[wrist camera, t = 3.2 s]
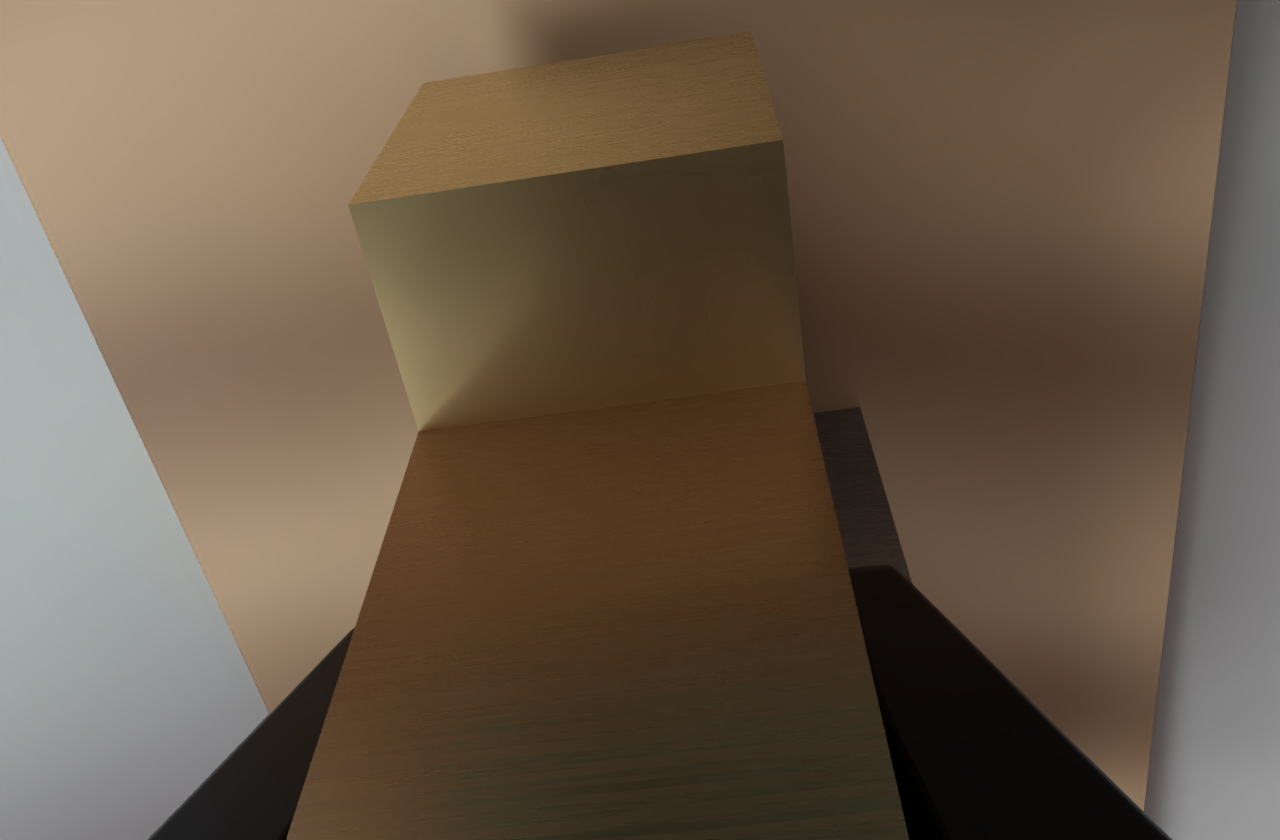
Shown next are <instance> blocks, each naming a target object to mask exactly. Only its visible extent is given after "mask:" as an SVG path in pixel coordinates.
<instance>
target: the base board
mask: <svg viewBox="0 0 1280 840" xmlns="http://www.w3.org/2000/svg"><path fill="white" fill-rule="evenodd" d="M1236 3H1237V0H0V137H1V139H2V141H3V143H4V145H5V147H6V150H7V152H8V154H9V156H10V158H11V160H12V162H13V165H14V167H15V169H16V171H17V173H18V175H19V177H20V180H21V182H22V184H23V186H24V188H25V190H26V192H27V195H28V197H29V199H30V201H31V203H32V205H33V207H34V210H35V212H36V214H37V216H38V218H39V220H40V223H41V225H42V227H43V229H44V231H45V233H46V235H47V238H48V240H49V242H50V244H51V246H52V248H53V250H54V253H55V255H56V257H57V259H58V261H59V263H60V265H61V268H62V270H63V272H64V274H65V276H66V278H67V280H68V283H69V285H70V287H71V289H72V291H73V293H74V295H75V298H76V300H77V302H78V304H79V306H80V308H81V310H82V313H83V315H84V317H85V319H86V321H87V323H88V325H89V328H90V330H91V332H92V334H93V336H94V338H95V340H96V343H97V345H98V347H99V349H100V351H101V353H102V355H103V358H104V360H105V362H106V364H107V366H108V368H109V371H110V373H111V375H112V377H113V379H114V381H115V383H116V386H117V388H118V390H119V392H120V394H121V396H122V398H123V401H124V403H125V405H126V407H127V409H128V411H129V413H130V416H131V418H132V420H133V422H134V424H135V426H136V428H137V431H138V433H139V435H140V437H141V439H142V441H143V443H144V446H145V448H146V450H147V452H148V454H149V456H150V458H151V461H152V463H153V465H154V467H155V469H156V471H157V473H158V476H159V478H160V480H161V482H162V484H163V486H164V488H165V491H166V493H167V495H168V497H169V499H170V501H171V504H172V506H173V508H174V510H175V512H176V514H177V516H178V519H179V521H180V523H181V525H182V527H183V529H184V531H185V534H186V536H187V538H188V540H189V542H190V544H191V546H192V549H193V551H194V553H195V555H196V557H197V559H198V561H199V564H200V566H201V568H202V570H203V572H204V574H205V576H206V579H207V581H208V583H209V585H210V587H211V589H212V591H213V594H214V596H215V598H216V600H217V602H218V604H219V606H220V609H221V611H222V613H223V615H224V617H225V619H226V621H227V624H228V626H229V628H230V630H231V632H232V634H233V637H234V639H235V641H236V643H237V645H238V647H239V649H240V652H241V654H242V656H243V658H244V660H245V662H246V664H247V667H248V669H249V671H250V673H251V675H252V677H253V679H254V682H255V684H256V686H257V688H258V690H259V692H260V694H261V697H262V699H263V701H264V703H265V705H266V707H267V709H268V712H269V714H270V713H271V712H272V711H273V710H274V709H275V708H276V707H277V706H278V705H279V704H280V703H281V701H282V700H283V699H284V698H285V697H286V696H287V695H288V694H289V693H290V692H291V691H292V690H293V689H294V688H295V687H296V686H297V685H298V684H299V683H300V682H301V681H302V680H303V679H304V678H305V677H306V676H307V675H308V674H309V673H310V672H311V671H312V670H313V668H314V667H315V666H316V665H317V664H318V663H319V662H320V661H321V660H322V659H323V658H324V657H325V656H326V655H327V654H328V653H329V652H330V651H331V650H332V649H333V648H334V647H335V646H336V645H337V644H338V643H339V642H340V641H341V640H342V639H343V638H344V637H345V635H346V634H347V633H348V632H350V631H351V630H352V629H353V628H354V627H355V626H356V623H357V620H358V616H359V613H360V610H361V607H362V604H363V601H364V598H365V595H366V592H367V589H368V586H369V583H370V580H371V576H372V573H373V570H374V567H375V564H376V561H377V558H378V555H379V552H380V549H381V546H382V543H383V539H384V536H385V533H386V530H387V527H388V524H389V521H390V518H391V515H392V512H393V509H394V506H395V502H396V499H397V496H398V493H399V490H400V487H401V484H402V481H403V478H404V475H405V472H406V469H407V466H408V462H409V459H410V456H411V453H412V450H413V447H414V444H415V441H416V438H417V435H418V432H419V431H418V428H417V425H416V422H415V419H414V415H413V412H412V409H411V406H410V403H409V399H408V396H407V393H406V390H405V386H404V383H403V380H402V377H401V374H400V370H399V367H398V364H397V361H396V357H395V354H394V351H393V348H392V345H391V341H390V338H389V335H388V332H387V329H386V325H385V322H384V319H383V316H382V312H381V309H380V306H379V303H378V300H377V296H376V293H375V290H374V287H373V283H372V280H371V277H370V274H369V271H368V267H367V264H366V261H365V258H364V255H363V251H362V248H361V245H360V242H359V238H358V235H357V232H356V229H355V226H354V222H353V219H352V216H351V213H350V209H349V206H348V204H349V203H350V201H351V200H352V198H353V196H354V195H355V193H356V191H357V190H358V188H359V187H360V185H361V183H362V182H363V180H364V178H365V177H366V175H367V174H368V172H369V170H370V169H371V167H372V165H373V164H374V162H375V160H376V159H377V157H378V156H379V154H380V152H381V151H382V149H383V147H384V146H385V144H386V143H387V141H388V139H389V138H390V136H391V134H392V133H393V131H394V129H395V128H396V126H397V125H398V123H399V121H400V120H401V118H402V116H403V115H404V113H405V112H406V110H407V108H408V107H409V105H410V103H411V102H412V100H413V98H414V97H415V95H416V94H417V92H418V90H419V89H420V87H421V85H422V84H423V83H426V82H432V81H438V80H445V79H451V78H457V77H463V76H470V75H476V74H482V73H489V72H495V71H501V70H507V69H514V68H520V67H526V66H533V65H539V64H545V63H551V62H558V61H564V60H570V59H577V58H583V57H589V56H595V55H602V54H608V53H614V52H620V51H627V50H633V49H639V48H646V47H652V46H658V45H664V44H671V43H677V42H683V41H690V40H696V39H702V38H708V37H715V36H721V35H727V34H734V33H740V32H746V31H751V33H752V37H753V40H754V43H755V47H756V50H757V53H758V57H759V60H760V64H761V67H762V70H763V74H764V77H765V80H766V84H767V87H768V90H769V94H770V97H771V100H772V104H773V107H774V110H775V114H776V117H777V120H778V124H779V127H780V131H781V134H782V137H783V142H784V153H785V164H786V174H787V185H788V196H789V206H790V217H791V228H792V238H793V249H794V260H795V270H796V281H797V292H798V302H799V313H800V324H801V334H802V345H803V356H804V366H805V377H806V384H807V388H808V393H809V397H810V402H811V406H812V410H813V413H817V412H825V411H833V410H841V409H849V408H857V407H860V408H861V411H862V415H863V418H864V421H865V425H866V428H867V432H868V435H869V438H870V442H871V445H872V449H873V452H874V455H875V459H876V462H877V466H878V469H879V472H880V476H881V479H882V483H883V486H884V489H885V493H886V496H887V500H888V503H889V506H890V510H891V513H892V516H893V520H894V523H895V527H896V530H897V533H898V537H899V540H900V544H901V547H902V550H903V554H904V557H905V561H906V564H907V567H908V571H909V574H910V578H911V581H912V584H913V585H914V586H915V587H916V588H917V589H918V590H919V591H920V592H921V593H922V594H923V595H924V596H925V597H926V598H927V599H928V600H929V601H930V602H931V603H932V604H933V605H934V606H935V607H936V608H937V609H938V610H939V611H940V612H941V613H942V614H943V615H944V616H945V617H946V618H948V619H949V620H950V621H951V622H952V623H953V624H954V625H955V626H956V627H957V628H958V629H959V630H960V631H961V632H962V633H963V634H964V635H965V636H966V637H967V638H968V639H969V640H970V641H971V642H972V643H973V644H974V645H975V646H976V647H977V648H978V649H979V650H980V651H981V652H982V653H983V654H984V655H985V656H986V657H987V658H988V659H989V660H990V661H991V662H992V663H993V664H994V665H995V666H996V667H997V668H998V669H999V670H1000V671H1001V672H1002V673H1003V674H1004V675H1005V676H1006V677H1007V678H1008V679H1010V680H1011V681H1012V682H1013V683H1014V684H1015V685H1016V686H1017V687H1018V688H1019V689H1020V690H1021V691H1022V692H1023V693H1024V694H1025V695H1026V696H1027V697H1028V698H1029V699H1030V700H1031V701H1032V702H1033V703H1034V704H1035V705H1036V706H1037V707H1038V708H1039V709H1040V710H1041V711H1042V712H1043V713H1044V714H1045V715H1046V716H1047V717H1048V718H1049V719H1050V720H1051V721H1052V722H1053V723H1054V724H1055V725H1056V726H1057V727H1058V728H1059V729H1060V730H1061V731H1062V732H1063V733H1064V734H1065V735H1066V736H1067V737H1068V738H1069V739H1070V740H1071V741H1073V742H1074V743H1075V744H1076V745H1077V746H1078V747H1079V748H1080V749H1081V750H1082V751H1083V752H1084V753H1085V754H1086V755H1087V756H1088V757H1089V758H1090V759H1091V760H1092V761H1093V762H1094V763H1095V764H1096V765H1097V766H1098V767H1099V768H1100V769H1101V770H1102V771H1103V772H1104V773H1105V774H1106V775H1107V776H1108V777H1109V778H1110V779H1111V780H1112V781H1113V782H1114V783H1115V784H1116V785H1117V786H1118V787H1119V788H1120V789H1121V790H1122V791H1123V792H1124V793H1125V794H1126V795H1127V796H1128V797H1129V798H1130V799H1131V800H1132V801H1133V802H1135V803H1136V804H1137V805H1138V806H1139V807H1140V808H1141V809H1142V810H1143V811H1144V804H1145V795H1146V787H1147V778H1148V769H1149V761H1150V752H1151V743H1152V734H1153V726H1154V717H1155V708H1156V700H1157V691H1158V682H1159V673H1160V665H1161V656H1162V647H1163V639H1164V630H1165V621H1166V612H1167V604H1168V595H1169V586H1170V578H1171V569H1172V560H1173V551H1174V543H1175V534H1176V525H1177V517H1178V508H1179V499H1180V491H1181V482H1182V473H1183V464H1184V456H1185V447H1186V438H1187V430H1188V421H1189V412H1190V403H1191V395H1192V386H1193V377H1194V369H1195V360H1196V351H1197V342H1198V334H1199V325H1200V316H1201V308H1202V299H1203V290H1204V282H1205V273H1206V264H1207V255H1208V247H1209V238H1210V229H1211V221H1212V212H1213V203H1214V194H1215V186H1216V177H1217V168H1218V160H1219V151H1220V142H1221V133H1222V125H1223V116H1224V107H1225V99H1226V90H1227V81H1228V72H1229V64H1230V55H1231V46H1232V38H1233V29H1234V20H1235V12H1236Z"/></svg>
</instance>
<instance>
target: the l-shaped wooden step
mask: <svg viewBox="0 0 1280 840" xmlns="http://www.w3.org/2000/svg"><path fill="white" fill-rule="evenodd" d="M348 206H349V209H350V213H351V216H352V219H353V222H354V226H355V229H356V232H357V235H358V238H359V242H360V245H361V248H362V251H363V255H364V258H365V261H366V264H367V267H368V271H369V274H370V277H371V280H372V283H373V287H374V290H375V293H376V296H377V300H378V303H379V306H380V309H381V312H382V316H383V319H384V322H385V325H386V329H387V332H388V335H389V338H390V341H391V345H392V348H393V351H394V354H395V357H396V361H397V364H398V367H399V370H400V374H401V377H402V380H403V383H404V386H405V390H406V393H407V396H408V399H409V403H410V406H411V409H412V412H413V415H414V419H415V422H416V425H417V428H418V431H419V432H418V435H417V438H416V441H415V444H414V447H413V450H412V453H411V456H410V459H409V462H408V466H407V469H406V472H405V475H404V478H403V481H402V484H401V487H400V490H399V493H398V496H397V499H396V502H395V506H394V509H393V512H392V515H391V518H390V521H389V524H388V527H387V530H386V533H385V536H384V539H383V543H382V546H381V549H380V552H379V555H378V558H377V561H376V564H375V567H374V570H373V573H372V576H371V580H370V583H369V586H368V589H367V592H366V595H365V598H364V601H363V604H362V607H361V610H360V613H359V616H358V620H357V623H356V626H355V629H354V632H353V635H352V638H351V641H350V644H349V647H348V650H347V653H346V657H345V660H344V663H343V666H342V669H341V672H340V675H339V678H338V681H337V684H336V687H335V690H334V693H333V697H332V700H331V703H330V706H329V709H328V712H327V715H326V718H325V721H324V724H323V727H322V730H321V734H320V737H319V740H318V743H317V746H316V749H315V752H314V755H313V758H312V761H311V764H310V767H309V771H308V774H307V777H306V780H305V783H304V786H303V789H302V792H301V795H300V798H299V801H298V804H297V807H296V811H295V814H294V817H293V820H292V823H291V826H290V829H289V832H288V835H287V838H286V840H909V837H908V832H907V828H906V823H905V819H904V814H903V810H902V805H901V801H900V797H899V792H898V788H897V783H896V779H895V774H894V770H893V766H892V761H891V757H890V752H889V748H888V743H887V739H886V734H885V730H884V726H883V721H882V717H881V712H880V708H879V703H878V699H877V695H876V690H875V686H874V681H873V677H872V672H871V668H870V663H869V659H868V655H867V650H866V646H865V641H864V637H863V632H862V628H861V624H860V619H859V615H858V610H857V606H856V601H855V597H854V592H853V588H852V584H851V579H850V575H849V570H848V566H847V561H846V557H845V552H844V548H843V544H842V539H841V535H840V530H839V526H838V521H837V517H836V513H835V508H834V504H833V499H832V495H831V490H830V486H829V481H828V477H827V473H826V468H825V464H824V459H823V455H822V450H821V446H820V442H819V437H818V433H817V428H816V424H815V419H814V415H813V410H812V406H811V402H810V397H809V393H808V388H807V384H806V377H805V366H804V356H803V345H802V334H801V324H800V313H799V302H798V292H797V281H796V270H795V260H794V249H793V238H792V228H791V217H790V206H789V196H788V185H787V174H786V164H785V153H784V142H783V137H782V134H781V131H780V127H779V124H778V120H777V117H776V114H775V110H774V107H773V104H772V100H771V97H770V94H769V90H768V87H767V84H766V80H765V77H764V74H763V70H762V67H761V64H760V60H759V57H758V53H757V50H756V47H755V43H754V40H753V37H752V33H751V31H746V32H740V33H734V34H727V35H721V36H715V37H708V38H702V39H696V40H690V41H683V42H677V43H671V44H664V45H658V46H652V47H646V48H639V49H633V50H627V51H620V52H614V53H608V54H602V55H595V56H589V57H583V58H577V59H570V60H564V61H558V62H551V63H545V64H539V65H533V66H526V67H520V68H514V69H507V70H501V71H495V72H489V73H482V74H476V75H470V76H463V77H457V78H451V79H445V80H438V81H432V82H426V83H423V84H422V85H421V87H420V89H419V90H418V92H417V94H416V95H415V97H414V98H413V100H412V102H411V103H410V105H409V107H408V108H407V110H406V112H405V113H404V115H403V116H402V118H401V120H400V121H399V123H398V125H397V126H396V128H395V129H394V131H393V133H392V134H391V136H390V138H389V139H388V141H387V143H386V144H385V146H384V147H383V149H382V151H381V152H380V154H379V156H378V157H377V159H376V160H375V162H374V164H373V165H372V167H371V169H370V170H369V172H368V174H367V175H366V177H365V178H364V180H363V182H362V183H361V185H360V187H359V188H358V190H357V191H356V193H355V195H354V196H353V198H352V200H351V201H350V203H349V204H348Z"/></svg>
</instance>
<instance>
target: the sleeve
mask: <svg viewBox="0 0 1280 840" xmlns="http://www.w3.org/2000/svg"><path fill="white" fill-rule="evenodd" d="M813 415H814V419H815V424H816V428H817V433H818V437H819V442H820V446H821V450H822V455H823V459H824V464H825V468H826V473H827V477H828V481H829V486H830V490H831V495H832V499H833V504H834V508H835V513H836V517H837V521H838V526H839V530H840V535H841V539H842V544H843V548H844V552H845V557H846V561H847V566H848V568H856V567H864V566H873V565H882V564H887V565H891V566H893V567H895V568H896V569H898V570H899V571H900V572H901V573H902V574H903V575H904V576H905V577H906V578H907V579H908V580H909V581H910V582H911V583H912V581H911V578H910V574H909V571H908V567H907V564H906V561H905V557H904V554H903V550H902V547H901V544H900V540H899V537H898V533H897V530H896V527H895V523H894V520H893V516H892V513H891V510H890V506H889V503H888V500H887V496H886V493H885V489H884V486H883V483H882V479H881V476H880V472H879V469H878V466H877V462H876V459H875V455H874V452H873V449H872V445H871V442H870V438H869V435H868V432H867V428H866V425H865V421H864V418H863V415H862V411H861V408H860V407H857V408H849V409H841V410H833V411H825V412H817V413H813Z"/></svg>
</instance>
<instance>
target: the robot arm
mask: <svg viewBox="0 0 1280 840" xmlns="http://www.w3.org/2000/svg"><path fill="white" fill-rule="evenodd" d="M848 570H849V575H850V579H851V584H852V588H853V592H854V597H855V601H856V606H857V610H858V615H859V619H860V624H861V628H862V632H863V637H864V641H865V646H866V650H867V655H868V659H869V663H870V668H871V672H872V677H873V681H874V686H875V690H876V695H877V699H878V703H879V708H880V712H881V717H882V721H883V726H884V730H885V734H886V739H887V743H888V748H889V752H890V757H891V761H892V766H893V770H894V774H895V779H896V783H897V788H898V792H899V797H900V801H901V805H902V810H903V814H904V819H905V823H906V828H907V832H908V837H909V840H1172V839H1171V838H1170V837H1169V836H1168V835H1167V834H1166V833H1165V832H1164V831H1163V830H1162V829H1161V828H1160V827H1159V826H1158V825H1157V824H1156V823H1155V822H1154V821H1153V820H1152V819H1151V818H1150V817H1149V816H1148V815H1147V814H1146V813H1145V812H1144V811H1143V810H1142V809H1141V808H1140V807H1139V806H1138V805H1137V804H1136V803H1135V802H1133V801H1132V800H1131V799H1130V798H1129V797H1128V796H1127V795H1126V794H1125V793H1124V792H1123V791H1122V790H1121V789H1120V788H1119V787H1118V786H1117V785H1116V784H1115V783H1114V782H1113V781H1112V780H1111V779H1110V778H1109V777H1108V776H1107V775H1106V774H1105V773H1104V772H1103V771H1102V770H1101V769H1100V768H1099V767H1098V766H1097V765H1096V764H1095V763H1094V762H1093V761H1092V760H1091V759H1090V758H1089V757H1088V756H1087V755H1086V754H1085V753H1084V752H1083V751H1082V750H1081V749H1080V748H1079V747H1078V746H1077V745H1076V744H1075V743H1074V742H1073V741H1071V740H1070V739H1069V738H1068V737H1067V736H1066V735H1065V734H1064V733H1063V732H1062V731H1061V730H1060V729H1059V728H1058V727H1057V726H1056V725H1055V724H1054V723H1053V722H1052V721H1051V720H1050V719H1049V718H1048V717H1047V716H1046V715H1045V714H1044V713H1043V712H1042V711H1041V710H1040V709H1039V708H1038V707H1037V706H1036V705H1035V704H1034V703H1033V702H1032V701H1031V700H1030V699H1029V698H1028V697H1027V696H1026V695H1025V694H1024V693H1023V692H1022V691H1021V690H1020V689H1019V688H1018V687H1017V686H1016V685H1015V684H1014V683H1013V682H1012V681H1011V680H1010V679H1008V678H1007V677H1006V676H1005V675H1004V674H1003V673H1002V672H1001V671H1000V670H999V669H998V668H997V667H996V666H995V665H994V664H993V663H992V662H991V661H990V660H989V659H988V658H987V657H986V656H985V655H984V654H983V653H982V652H981V651H980V650H979V649H978V648H977V647H976V646H975V645H974V644H973V643H972V642H971V641H970V640H969V639H968V638H967V637H966V636H965V635H964V634H963V633H962V632H961V631H960V630H959V629H958V628H957V627H956V626H955V625H954V624H953V623H952V622H951V621H950V620H949V619H948V618H946V617H945V616H944V615H943V614H942V613H941V612H940V611H939V610H938V609H937V608H936V607H935V606H934V605H933V604H932V603H931V602H930V601H929V600H928V599H927V598H926V597H925V596H924V595H923V594H922V593H921V592H920V591H919V590H918V589H917V588H916V587H915V586H914V585H913V584H912V583H911V582H910V581H909V580H908V579H907V578H906V577H905V576H904V575H903V574H902V573H901V572H900V571H899V570H898V569H896V568H895V567H893V566H891V565H887V564H882V565H873V566H864V567H856V568H848ZM354 629H355V627H354V628H353V629H352V630H351V631H350V632H348V633H347V634H346V635H345V637H344V638H343V639H342V640H341V641H340V642H339V643H338V644H337V645H336V646H335V647H334V648H333V649H332V650H331V651H330V652H329V653H328V654H327V655H326V656H325V657H324V658H323V659H322V660H321V661H320V662H319V663H318V664H317V665H316V666H315V667H314V668H313V670H312V671H311V672H310V673H309V674H308V675H307V676H306V677H305V678H304V679H303V680H302V681H301V682H300V683H299V684H298V685H297V686H296V687H295V688H294V689H293V690H292V691H291V692H290V693H289V694H288V695H287V696H286V697H285V698H284V699H283V700H282V701H281V703H280V704H279V705H278V706H277V707H276V708H275V709H274V710H273V711H272V712H271V713H270V714H269V715H268V716H267V717H266V718H265V719H264V720H263V721H262V722H261V723H260V724H259V725H258V726H257V727H256V728H255V729H254V730H253V731H252V732H251V733H250V734H249V736H248V737H247V738H246V739H245V740H244V741H243V742H242V743H241V744H240V745H239V746H238V747H237V748H236V749H235V750H234V751H233V752H232V753H231V754H230V755H229V756H228V757H227V758H226V759H225V760H224V761H223V762H222V763H221V764H220V765H219V766H218V767H217V769H216V770H215V771H214V772H213V773H212V774H211V775H210V776H209V777H208V778H207V779H206V780H205V781H204V782H203V783H202V784H201V785H200V786H199V787H198V788H197V789H196V790H195V791H194V792H193V793H192V794H191V795H190V796H189V797H188V798H187V799H186V800H185V802H184V803H183V804H182V805H181V806H180V807H179V808H178V809H177V810H176V811H175V812H174V813H173V814H172V815H171V816H170V817H169V818H168V819H167V820H166V821H165V822H164V823H163V824H162V825H161V826H160V827H159V828H158V829H157V830H156V831H155V832H154V833H153V835H152V836H151V837H150V838H149V839H148V840H286V838H287V835H288V832H289V829H290V826H291V823H292V820H293V817H294V814H295V811H296V807H297V804H298V801H299V798H300V795H301V792H302V789H303V786H304V783H305V780H306V777H307V774H308V771H309V767H310V764H311V761H312V758H313V755H314V752H315V749H316V746H317V743H318V740H319V737H320V734H321V730H322V727H323V724H324V721H325V718H326V715H327V712H328V709H329V706H330V703H331V700H332V697H333V693H334V690H335V687H336V684H337V681H338V678H339V675H340V672H341V669H342V666H343V663H344V660H345V657H346V653H347V650H348V647H349V644H350V641H351V638H352V635H353V632H354Z"/></svg>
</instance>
